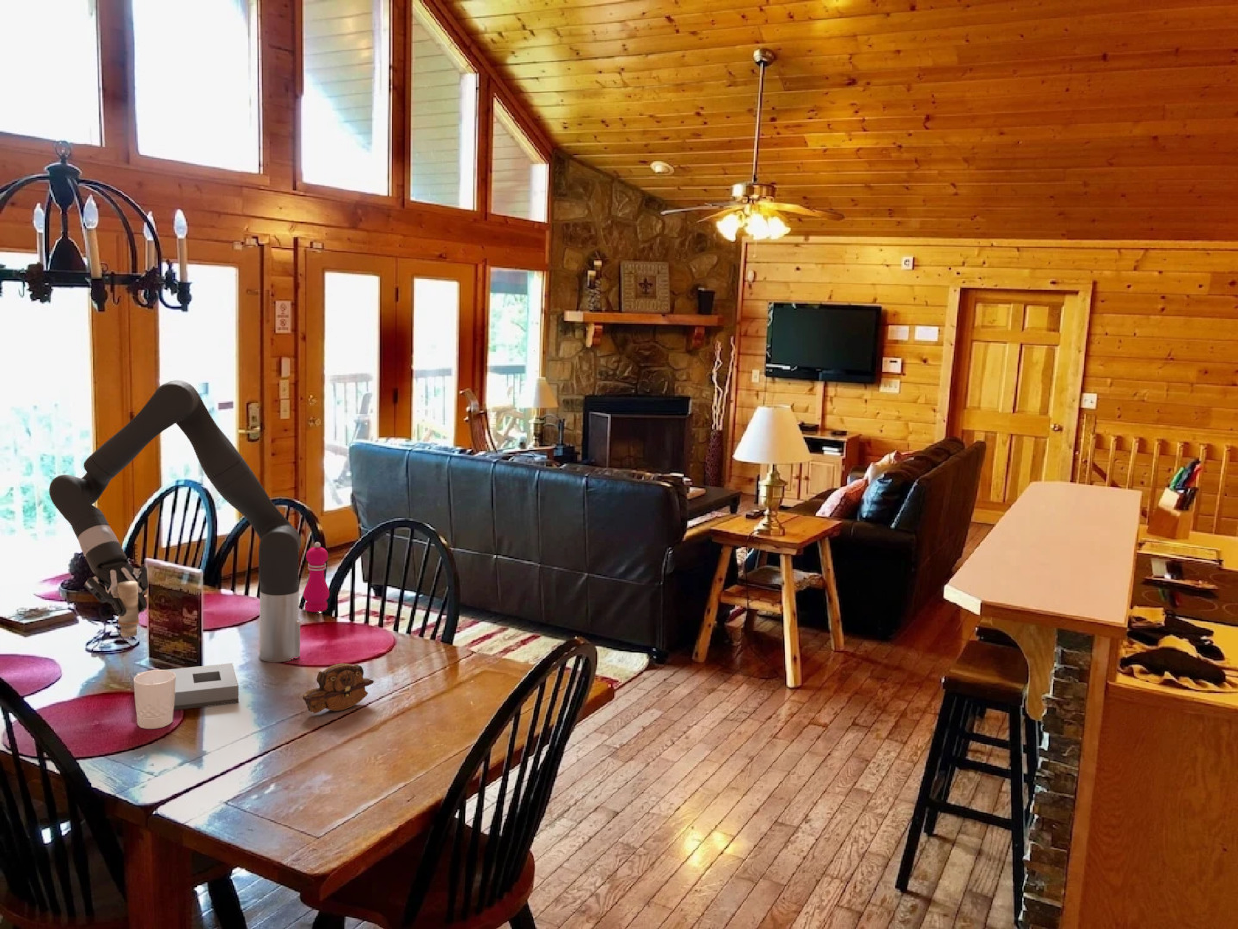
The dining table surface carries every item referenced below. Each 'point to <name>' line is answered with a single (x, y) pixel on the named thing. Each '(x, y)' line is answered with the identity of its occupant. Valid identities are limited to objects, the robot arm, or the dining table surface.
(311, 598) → the pepper mill
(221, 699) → the socket board
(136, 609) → the birch peg
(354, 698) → the wooden carving
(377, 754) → the dining table surface
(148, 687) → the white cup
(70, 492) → the robot arm
